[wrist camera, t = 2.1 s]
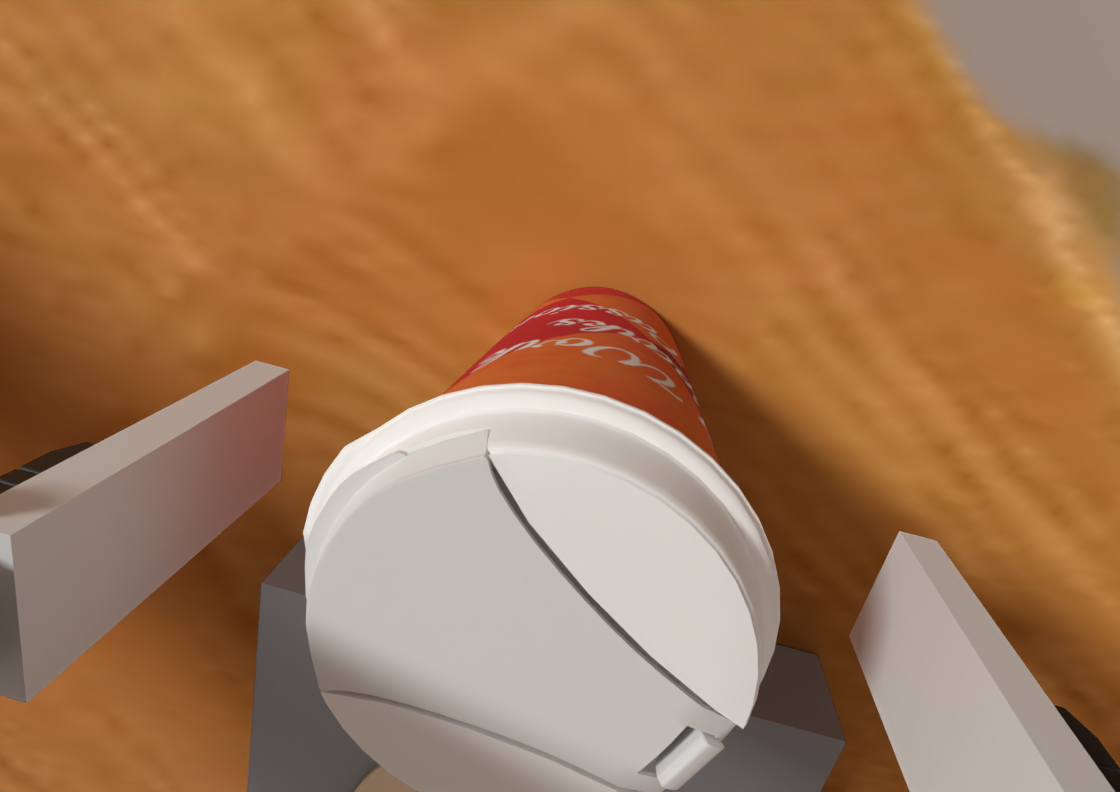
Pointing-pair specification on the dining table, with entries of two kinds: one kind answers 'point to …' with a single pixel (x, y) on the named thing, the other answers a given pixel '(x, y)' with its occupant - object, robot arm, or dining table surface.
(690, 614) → the paper cup
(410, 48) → the dining table surface
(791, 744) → the plinth
